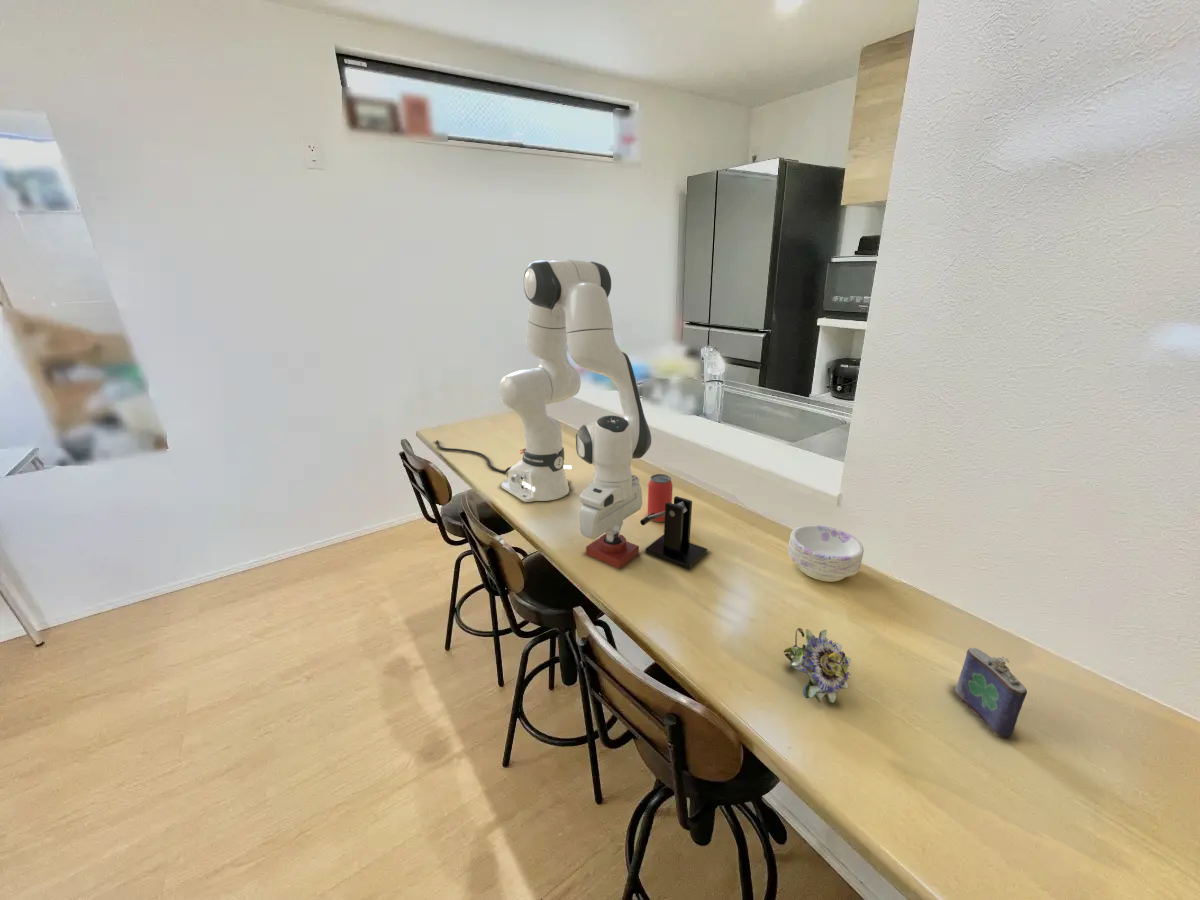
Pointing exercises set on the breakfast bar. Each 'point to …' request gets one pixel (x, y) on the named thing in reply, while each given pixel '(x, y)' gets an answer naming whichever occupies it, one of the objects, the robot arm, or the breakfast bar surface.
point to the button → (613, 541)
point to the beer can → (659, 494)
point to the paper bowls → (825, 552)
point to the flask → (991, 691)
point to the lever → (659, 514)
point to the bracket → (677, 537)
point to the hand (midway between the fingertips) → (613, 538)
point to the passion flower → (820, 665)
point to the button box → (612, 551)
